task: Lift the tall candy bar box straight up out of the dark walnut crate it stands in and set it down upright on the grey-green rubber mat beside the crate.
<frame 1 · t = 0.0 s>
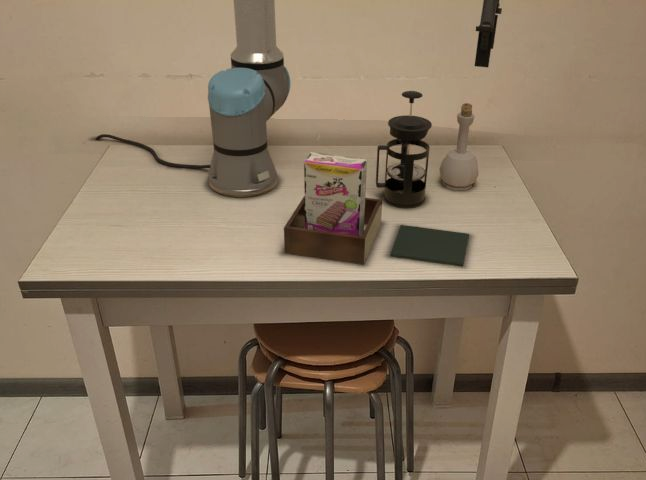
hand: (484, 57, 142), 28 cm above the table, tool pointing down, fingers open, 13 cm apart
crate: (334, 238, 139), on the table
mat: (430, 246, 137), on the table
french press: (401, 199, 153), on the table
potion bottle: (456, 184, 160), on the table
candy bar box: (334, 238, 139), resting in crate
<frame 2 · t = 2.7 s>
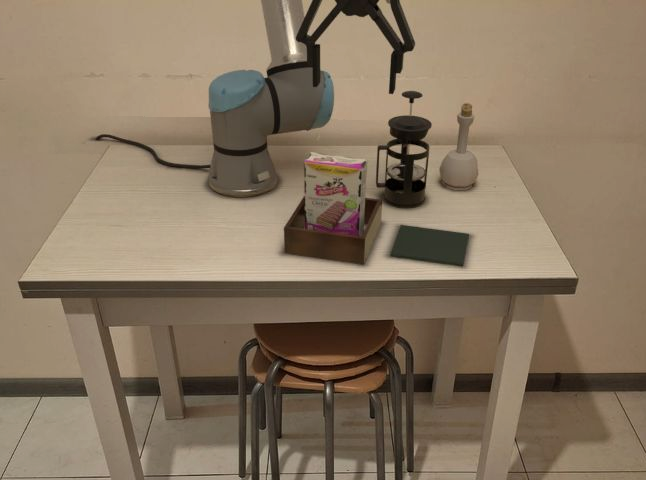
hand: (354, 88, 123), 29 cm above the table, tool pointing down, fingers open, 13 cm apart
nothing on the table moved.
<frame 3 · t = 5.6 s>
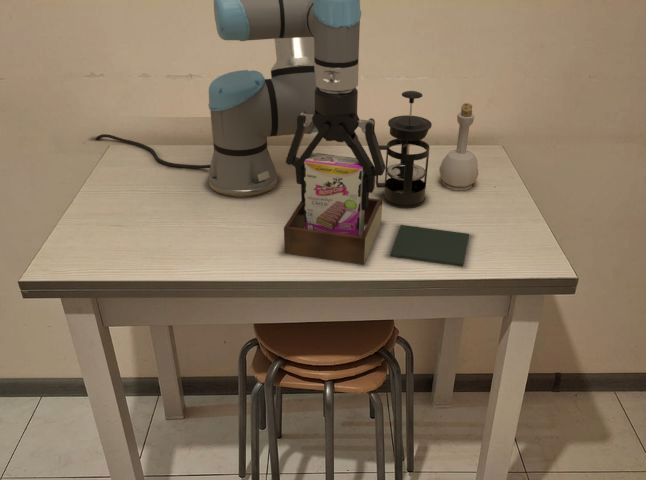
hand: (335, 203, 134), 8 cm above the table, tool pointing down, fingers closed on candy bar box, 11 cm apart
candy bar box: (334, 238, 139), resting in crate, touching gripper
everything else where it was.
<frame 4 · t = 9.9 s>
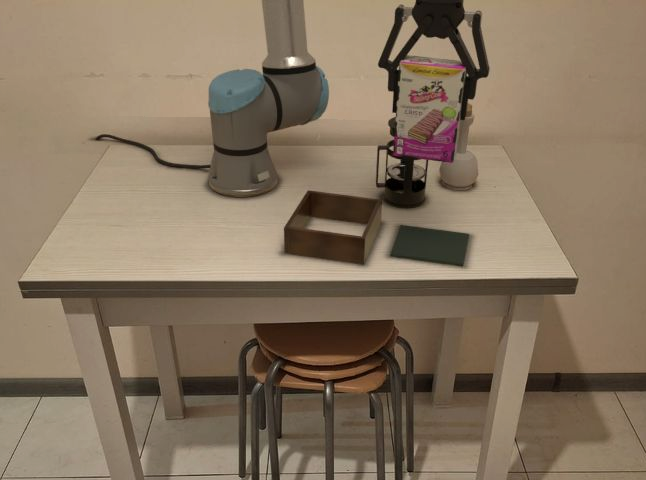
hand: (429, 113, 121), 26 cm above the table, tool pointing down, fingers closed on candy bar box, 11 cm apart
candy bar box: (425, 156, 126), point 18 cm above the table, touching gripper
everything else where it was.
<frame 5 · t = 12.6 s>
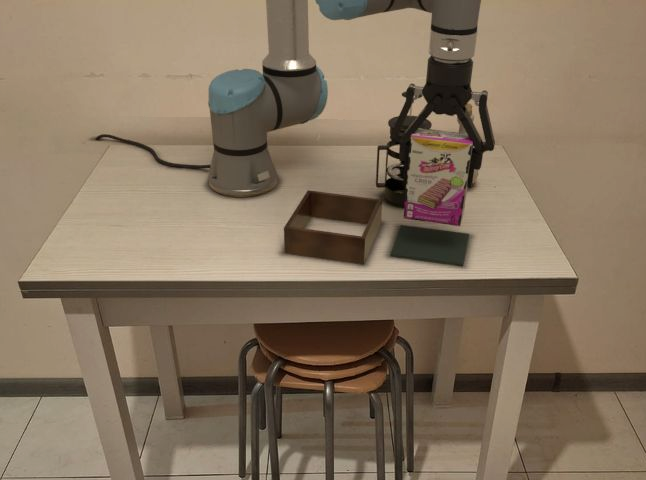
hand: (437, 181, 129), 14 cm above the table, tool pointing down, fingers closed on candy bar box, 11 cm apart
candy bar box: (433, 219, 133), point 6 cm above the table, touching gripper
everything else where it was.
when the fingers open (8 cm above the table, at t = 14.6 s): candy bar box stays where it is, resting on mat.
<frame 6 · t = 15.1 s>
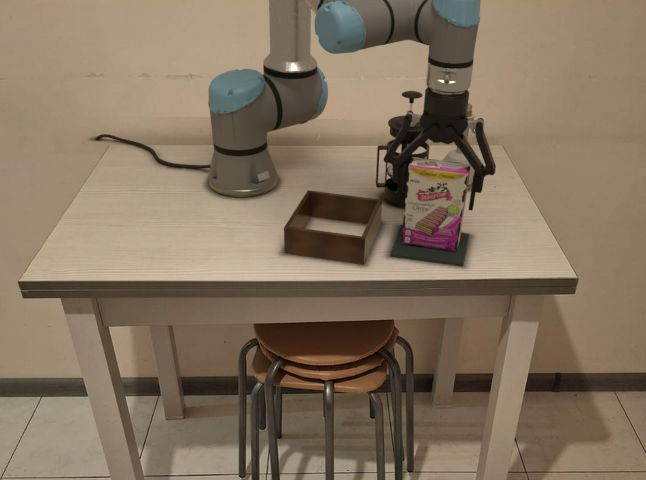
hand: (435, 202, 131), 9 cm above the table, tool pointing down, fingers open, 13 cm apart
candy bar box: (430, 244, 137), resting on mat
everything else where it was.
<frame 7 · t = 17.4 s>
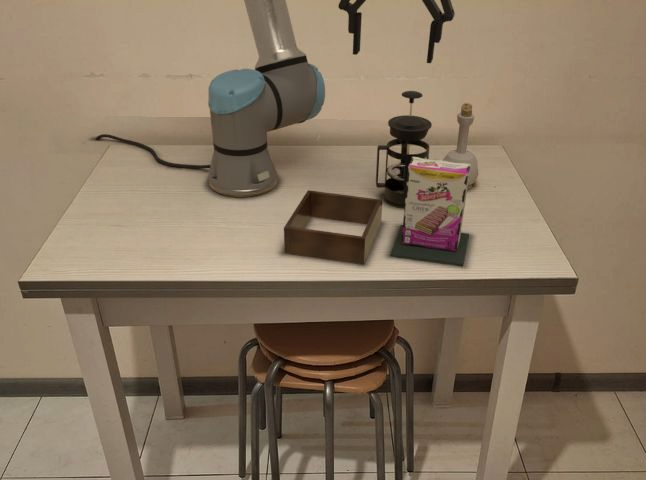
hand: (392, 56, 126), 32 cm above the table, tool pointing down, fingers open, 13 cm apart
nothing on the table moved.
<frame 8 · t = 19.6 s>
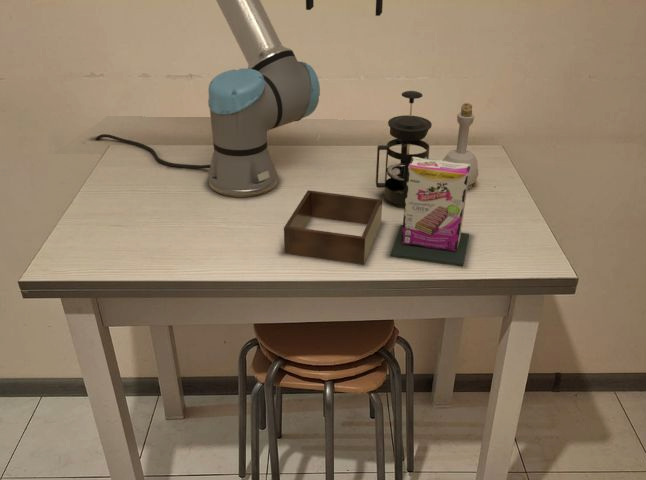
hand: (344, 11, 133), 37 cm above the table, tool pointing down, fingers open, 13 cm apart
nothing on the table moved.
at the end: candy bar box inside the target area on the mat (0.0 cm from its centre), point 0.4 cm above the mat's base; candy bar box tilted 0°; the gripper is holding nothing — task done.
